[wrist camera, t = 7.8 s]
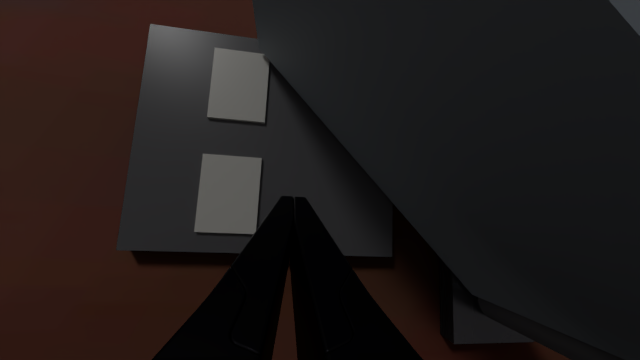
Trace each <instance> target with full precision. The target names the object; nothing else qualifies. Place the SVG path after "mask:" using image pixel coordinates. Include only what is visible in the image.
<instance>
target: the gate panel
mask: <svg viewBox="0 0 640 360" xmlns="http://www.w3.org/2000/svg"><path fill="white" fill-rule="evenodd" d="M253 7H254V15H255V22H256V29H257V37H258V44H259V49H260V50H261V51H262V52H263V54H264V55H265V56H266V57H267V58H268V59H269V61H270V62H271V63H272V64H273V65H274V66H275V68H276V69H277V70H278V71H279V72H280V73H281V74H282V76H283V77H284V78H285V79H286V80H287V81H288V83H289V84H290V85H291V86H292V87H293V88H294V89H295V91H296V92H297V93H298V94H299V95H300V96H301V98H302V99H303V100H304V101H305V102H306V103H307V104H308V106H309V107H310V108H311V109H312V110H313V111H314V113H315V114H316V115H317V116H318V117H319V118H320V119H321V121H322V122H323V123H324V124H325V125H326V126H327V128H328V129H329V130H330V131H331V132H332V133H333V135H334V136H335V137H336V138H337V139H338V140H339V141H340V143H341V144H342V145H343V146H344V147H345V148H346V150H347V151H348V152H349V153H350V154H351V155H352V156H353V158H354V159H355V160H356V161H357V162H358V163H359V165H360V166H361V167H362V168H363V169H364V170H365V171H366V173H367V174H368V175H369V176H370V177H371V178H372V180H373V181H374V182H375V183H376V184H377V185H378V186H379V188H380V189H381V190H382V191H383V192H384V193H385V195H386V196H387V197H388V198H389V199H390V200H391V202H392V203H393V204H394V205H395V206H396V207H397V208H398V210H399V211H400V212H401V213H402V214H403V215H404V217H405V218H406V219H407V220H408V221H409V222H410V223H411V225H412V226H413V227H414V228H415V229H416V230H417V232H418V233H419V234H420V235H421V236H422V237H423V238H424V240H425V241H426V242H427V243H428V244H429V245H430V247H431V248H432V249H433V250H434V251H435V252H436V254H437V255H438V256H439V257H440V258H441V259H442V260H443V262H444V263H445V264H446V265H447V266H448V267H449V269H450V270H451V271H452V272H453V273H454V274H455V275H456V277H457V278H458V279H459V280H460V281H461V282H462V284H463V285H464V286H465V287H466V288H467V289H468V290H469V292H470V293H471V294H472V295H474V296H477V297H478V302H479V306H480V308H481V310H482V312H483V313H484V314H485V315H486V316H487V317H488V318H490V319H492V320H494V321H496V322H498V323H500V324H502V325H504V326H506V327H508V328H510V329H512V330H514V331H516V332H518V333H520V334H522V335H524V336H526V337H528V338H530V339H532V340H534V341H536V342H538V343H540V344H542V345H544V346H546V347H548V348H550V349H552V350H553V351H555V352H557V353H559V354H561V355H563V356H565V357H567V358H569V359H571V360H640V0H253Z"/></svg>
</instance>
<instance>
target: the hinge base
mask: <svg viewBox="0 0 640 360" xmlns="http://www.w3.org/2000/svg"><path fill="white" fill-rule="evenodd" d="M439 273H440V332H441V335H443V336H444V337H445V338H447V339H448V340H449V341H451V342H452V343H453V344H478V343H516V342H534V340H532V339H530V338H528V337H526V336H524V335H522V334H520V333H518V332H516V331H514V330H512V329H510V328H508V327H506V326H504V325H502V324H500V323H498V322H496V321H494V320H492V319H490V318H488V317H487V316H486V315H485V314H484V313H483V312H482V310H481V308H480V306H479V302H478V297H477V296H474V295H472V294H471V293H470V292H469V290H468V289H467V288H466V287H465V286H464V285H463V284H462V282H461V281H460V280H459V279H458V278H457V277H456V275H455V274H454V273H453V272H452V271H451V270H450V269H449V267H448V266H447V265H446V264H445V263H444V262H443V260H442V259H441V258H440V257H439Z"/></svg>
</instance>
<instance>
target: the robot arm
mask: <svg viewBox="0 0 640 360" xmlns="http://www.w3.org/2000/svg"><path fill="white" fill-rule="evenodd" d="M289 256H290V272H291V284H292V296H293V309H294V321H295V333H296V345H297V358H298V360H423V359H422V358H421V357H420V356H419V355H418V353H417V352H416V351H415V350H414V349H413V347H412V346H411V345H410V344H409V342H408V341H407V340H406V339H405V338H404V336H403V335H402V334H401V333H400V331H399V330H398V329H397V328H396V327H395V325H394V324H393V323H392V322H391V320H390V319H389V318H388V317H387V316H386V314H385V313H384V312H383V311H382V309H381V308H380V307H379V306H378V304H377V303H376V302H375V300H374V299H373V298H372V297H371V295H370V294H369V293H368V291H367V290H366V288H365V287H364V285H363V284H362V282H361V281H360V280H359V278H358V276H357V275H356V273H355V272H354V271H353V270H352V267H351V266H350V264H349V263H348V261H347V260H346V258H345V257H344V255H343V254H342V252H341V251H340V249H339V247H338V246H337V244H336V243H335V241H334V240H333V238H332V237H331V235H330V234H329V232H328V231H327V229H326V228H325V226H324V224H323V223H322V221H321V220H320V218H319V217H318V215H317V214H316V212H315V211H314V209H313V208H312V206H311V205H310V203H309V201H308V200H307V198H306V197H298V196H295V197H294V198H293V197H292V196H281V197H280V198H279V199H278V201H277V202H276V204H275V205H274V206H273V208H272V209H271V211H270V212H269V213H268V215H267V216H266V218H265V219H264V220H263V222H262V223H261V225H260V226H259V227H258V229H257V230H256V232H255V233H254V234H253V236H252V237H251V239H250V240H249V241H248V243H247V244H246V246H245V247H244V248H243V250H242V251H241V253H240V254H239V255H238V257H237V258H236V260H235V261H234V262H233V264H232V265H231V268H229V269H228V271H227V272H226V273H225V275H224V276H223V278H222V279H221V280H220V282H219V283H218V284H217V285H216V287H215V288H214V289H213V291H212V292H211V293H210V295H209V296H208V297H207V298H206V299H205V300H204V302H203V303H202V304H201V305H200V306H199V307H198V309H197V310H196V311H195V312H194V313H193V314H192V315H191V317H190V318H189V319H188V320H187V321H186V322H185V323H184V324H183V325H182V326H181V328H180V329H179V330H178V331H177V332H176V333H175V334H174V335H173V336H172V338H171V339H170V340H169V341H168V342H167V343H166V344H165V345H164V346H163V348H162V349H161V350H160V351H159V352H158V353H157V354H156V355H155V356H154V358H153V359H152V360H272V355H273V349H274V344H275V338H276V332H277V327H278V321H279V315H280V310H281V304H282V298H283V293H284V287H285V281H286V276H287V270H288V264H289Z"/></svg>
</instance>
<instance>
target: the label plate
mask: <svg viewBox="0 0 640 360" xmlns="http://www.w3.org/2000/svg"><path fill="white" fill-rule="evenodd" d="M281 196H292V197H293V198H294V197H295V196H298V197H306V198H307V200H308V201H309V203H310V205H311V206H312V208H313V209H314V211H315V212H316V214H317V215H318V217H319V218H320V220H321V221H322V223H323V224H324V226H325V228H326V229H327V231H328V232H329V234H330V235H331V237H332V238H333V240H334V241H335V243H336V244H337V246H338V247H339V249H340V251H341V252H342V254H343V255H344V256H374V257H392V217H393V203H392V202H391V200H390V199H389V198H388V197H387V196H386V195H385V193H384V192H383V191H382V190H381V189H380V188H379V186H378V185H377V184H376V183H375V182H374V181H373V180H372V178H371V177H370V176H369V175H368V174H367V173H366V171H365V170H364V169H363V168H362V167H361V166H360V165H359V163H358V162H357V161H356V160H355V159H354V158H353V156H352V155H351V154H350V153H349V152H348V151H347V150H346V148H345V147H344V146H343V145H342V144H341V143H340V141H339V140H338V139H337V138H336V137H335V136H334V135H333V133H332V132H331V131H330V130H329V129H328V128H327V126H326V125H325V124H324V123H323V122H322V121H321V119H320V118H319V117H318V116H317V115H316V114H315V113H314V111H313V110H312V109H311V108H310V107H309V106H308V104H307V103H306V102H305V101H304V100H303V99H302V98H301V96H300V95H299V94H298V93H297V92H296V91H295V89H294V88H293V87H292V86H291V85H290V84H289V83H288V81H287V80H286V79H285V78H284V77H283V76H282V74H281V73H280V72H279V71H278V70H277V69H276V68H275V66H274V65H273V64H272V63H271V62H270V61H269V59H268V58H267V57H266V56H265V55H264V54H263V52H262V51H261V50H260V49H259V44H258V39H253V38H246V37H239V36H232V35H225V34H218V33H210V32H203V31H196V30H189V29H182V28H175V27H168V26H160V25H153V24H150V30H149V37H148V43H147V50H146V57H145V63H144V70H143V76H142V83H141V90H140V96H139V103H138V109H137V116H136V122H135V129H134V136H133V142H132V149H131V155H130V162H129V169H128V175H127V182H126V188H125V195H124V202H123V208H122V215H121V221H120V228H119V235H118V241H117V248H116V250H131V251H172V252H212V253H241V251H242V250H243V248H244V247H245V246H246V244H247V243H248V241H249V240H250V239H251V237H252V236H253V234H254V233H255V232H256V230H257V229H258V227H259V226H260V225H261V223H262V222H263V220H264V219H265V218H266V216H267V215H268V213H269V212H270V211H271V209H272V208H273V206H274V205H275V204H276V202H277V201H278V199H279V198H280V197H281Z"/></svg>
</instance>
